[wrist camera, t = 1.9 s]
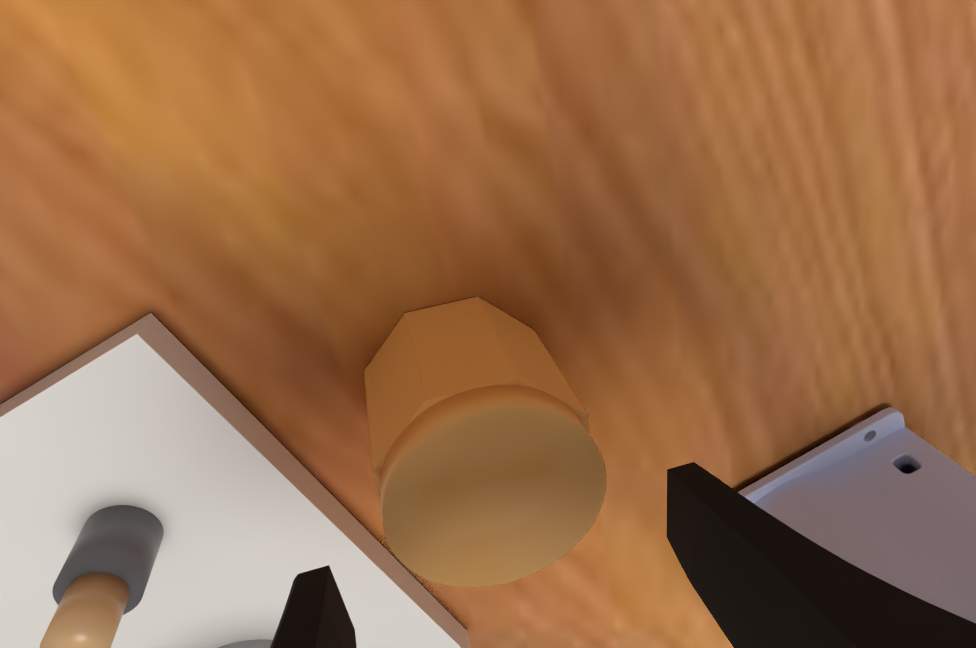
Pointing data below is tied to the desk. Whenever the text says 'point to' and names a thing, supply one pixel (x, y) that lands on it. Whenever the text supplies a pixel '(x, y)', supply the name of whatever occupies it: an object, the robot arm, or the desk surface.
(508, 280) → the desk surface
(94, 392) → the plate
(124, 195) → the desk surface
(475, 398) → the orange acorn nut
